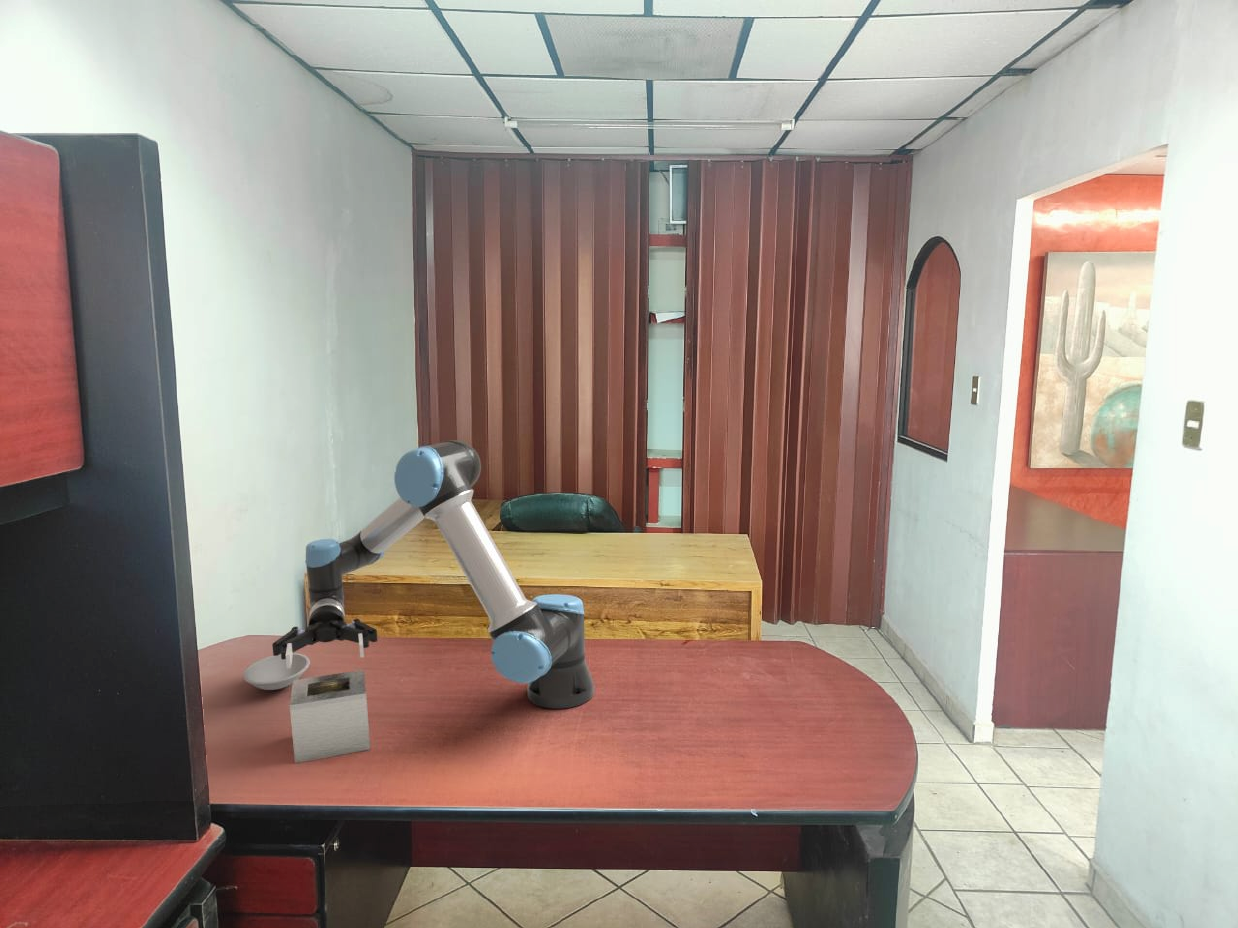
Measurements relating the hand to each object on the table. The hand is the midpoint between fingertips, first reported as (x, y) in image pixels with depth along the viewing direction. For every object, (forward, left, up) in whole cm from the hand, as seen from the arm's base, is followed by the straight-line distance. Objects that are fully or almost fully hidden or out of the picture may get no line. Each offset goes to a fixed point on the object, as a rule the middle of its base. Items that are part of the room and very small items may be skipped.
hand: (325, 656), depth 154 cm
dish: (+26, -27, -20) cm, 42 cm away
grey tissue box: (+1, -3, -20) cm, 20 cm away
